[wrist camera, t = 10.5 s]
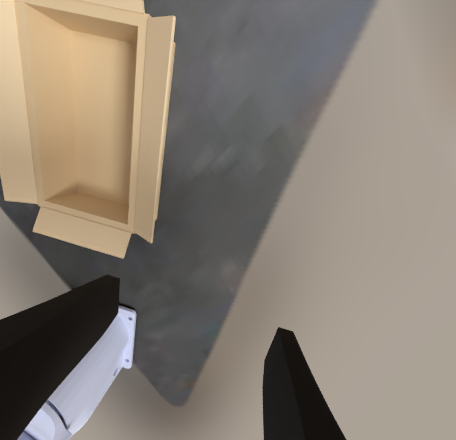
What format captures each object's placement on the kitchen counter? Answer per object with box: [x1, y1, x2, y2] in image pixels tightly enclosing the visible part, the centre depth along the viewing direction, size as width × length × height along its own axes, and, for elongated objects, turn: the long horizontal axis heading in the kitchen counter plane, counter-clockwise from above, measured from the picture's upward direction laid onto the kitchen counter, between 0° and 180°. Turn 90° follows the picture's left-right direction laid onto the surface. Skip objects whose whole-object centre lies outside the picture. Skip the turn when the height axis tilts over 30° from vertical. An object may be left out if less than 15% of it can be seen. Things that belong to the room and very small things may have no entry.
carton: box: [0, 0, 176, 258], centre depth 15 cm, size 12×17×4 cm
